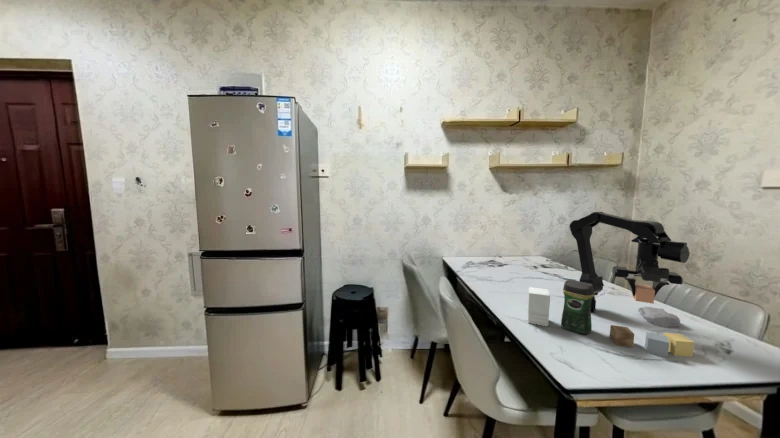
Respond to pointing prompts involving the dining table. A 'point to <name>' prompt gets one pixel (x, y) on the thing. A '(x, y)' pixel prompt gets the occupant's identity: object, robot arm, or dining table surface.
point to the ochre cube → (680, 345)
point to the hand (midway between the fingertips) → (642, 297)
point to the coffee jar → (577, 306)
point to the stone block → (659, 317)
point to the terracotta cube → (644, 293)
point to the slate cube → (657, 344)
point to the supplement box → (538, 306)
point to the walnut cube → (621, 336)
